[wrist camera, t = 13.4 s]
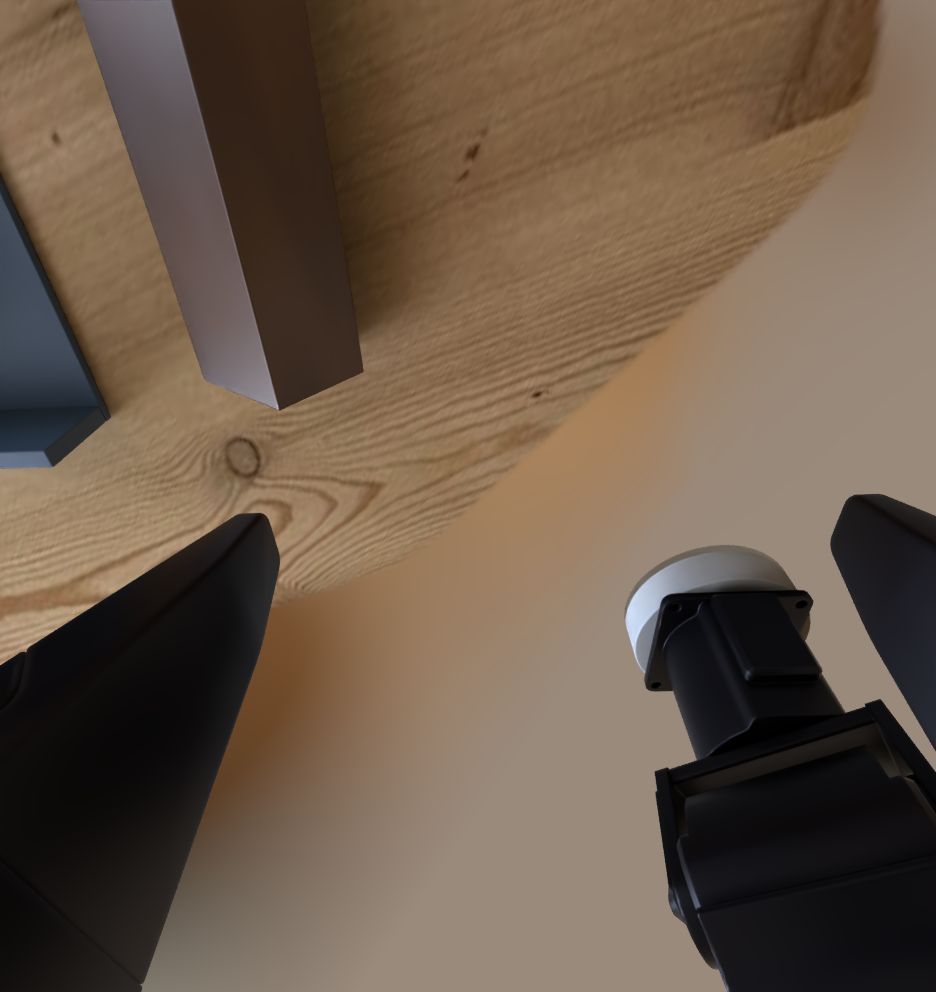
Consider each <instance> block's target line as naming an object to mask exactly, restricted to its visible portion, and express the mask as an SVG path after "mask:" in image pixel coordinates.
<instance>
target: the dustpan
mask: <svg viewBox="0 0 936 992" xmlns="http://www.w3.org/2000/svg"><path fill="white" fill-rule="evenodd" d="M110 418H111V416H110V414H109V412H108V410H107V408H106V406H105V403H104V401H103V399H102V397H101V395H100V392H99V390H98V388H97V386H96V384H95V382H94V379H93V377H92V375H91V373H90V371H89V368H88V366H87V364H86V362H85V360H84V357H83V355H82V353H81V351H80V349H79V347H78V344H77V342H76V340H75V338H74V336H73V333H72V331H71V329H70V327H69V325H68V323H67V320H66V318H65V316H64V314H63V312H62V309H61V307H60V305H59V303H58V301H57V299H56V296H55V294H54V292H53V290H52V288H51V285H50V283H49V281H48V279H47V277H46V275H45V272H44V270H43V268H42V266H41V264H40V261H39V259H38V257H37V255H36V253H35V250H34V248H33V246H32V244H31V242H30V240H29V237H28V235H27V233H26V231H25V229H24V226H23V224H22V222H21V220H20V218H19V216H18V213H17V211H16V209H15V207H14V205H13V202H12V200H11V198H10V196H9V194H8V192H7V189H6V187H5V185H4V183H3V181H2V178H1V176H0V469H9V468H38V467H54V466H55V465H56V464H57V463H59V462H60V461H61V460H62V459H63V458H64V457H66V456H67V455H68V454H69V453H70V452H71V451H72V450H74V449H75V448H76V447H77V446H78V445H79V444H81V443H82V442H83V441H84V440H85V439H86V438H87V437H89V436H90V435H91V434H92V433H93V432H94V431H95V430H97V429H98V428H99V427H100V426H101V425H102V424H104V423H105V421H107V420H109V419H110Z"/></svg>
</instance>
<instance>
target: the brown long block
mask: <svg viewBox="0 0 936 992" xmlns="http://www.w3.org/2000/svg"><path fill="white" fill-rule="evenodd" d="M77 3H78V6H79V9H80V12H81V14H82V17H83V20H84V23H85V26H86V29H87V32H88V35H89V38H90V41H91V44H92V47H93V50H94V53H95V56H96V59H97V62H98V65H99V68H100V71H101V74H102V77H103V80H104V83H105V86H106V89H107V92H108V95H109V98H110V101H111V104H112V107H113V110H114V113H115V116H116V118H117V121H118V124H119V127H120V130H121V133H122V136H123V139H124V142H125V145H126V148H127V151H128V154H129V157H130V160H131V163H132V166H133V169H134V172H135V175H136V178H137V181H138V184H139V187H140V190H141V193H142V196H143V199H144V202H145V205H146V208H147V211H148V214H149V217H150V220H151V222H152V225H153V228H154V231H155V234H156V237H157V240H158V243H159V246H160V249H161V252H162V255H163V258H164V261H165V264H166V267H167V270H168V273H169V276H170V279H171V282H172V285H173V288H174V291H175V294H176V297H177V300H178V303H179V306H180V309H181V312H182V315H183V318H184V321H185V324H186V326H187V329H188V332H189V335H190V338H191V341H192V344H193V347H194V350H195V353H196V356H197V359H198V362H199V365H200V368H201V371H202V374H203V377H204V380H205V381H207V382H210V383H212V384H215V385H217V386H220V387H222V388H225V389H227V390H230V391H232V392H235V393H237V394H240V395H242V396H245V397H247V398H250V399H252V400H255V401H257V402H260V403H262V404H265V405H267V406H270V407H272V408H275V409H277V410H282V409H284V408H286V407H288V406H290V405H293V404H295V403H297V402H299V401H301V400H304V399H306V398H308V397H310V396H312V395H314V394H317V393H319V392H321V391H323V390H325V389H328V388H330V387H332V386H334V385H336V384H338V383H341V382H343V381H345V380H347V379H349V378H351V377H354V376H356V375H358V374H360V373H362V372H363V371H364V370H363V364H362V358H361V351H360V345H359V339H358V333H357V326H356V320H355V314H354V307H353V301H352V295H351V289H350V282H349V276H348V270H347V264H346V257H345V251H344V245H343V239H342V232H341V226H340V220H339V214H338V207H337V201H336V195H335V189H334V182H333V176H332V170H331V163H330V157H329V151H328V145H327V138H326V132H325V126H324V120H323V113H322V107H321V101H320V95H319V88H318V82H317V76H316V70H315V63H314V57H313V51H312V45H311V38H310V32H309V26H308V19H307V13H306V7H305V1H304V0H77Z"/></svg>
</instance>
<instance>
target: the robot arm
mask: <svg viewBox="0 0 936 992" xmlns="http://www.w3.org/2000/svg"><path fill="white" fill-rule="evenodd" d="M830 544H831V551H832V554H833V557H834V559H835V561H836V564H837V566H838V568H839V570H840V572H841V575H842V577H843V579H844V582H845V584H846V586H847V588H848V591H849V593H850V595H851V597H852V600H853V602H854V604H855V606H856V609H857V611H858V613H859V615H860V618H861V620H862V622H863V624H864V626H865V629H866V631H867V633H868V635H869V637H870V639H871V641H872V642H873V644H874V646H875V648H876V650H877V652H878V653H879V655H880V657H881V658H882V660H883V662H884V664H885V665H886V667H887V669H888V670H889V672H890V674H891V676H892V677H893V679H894V681H895V682H896V684H897V686H898V687H899V689H900V691H901V693H902V694H903V696H904V698H905V700H906V701H907V703H908V705H909V707H910V708H911V710H912V712H913V713H914V715H915V717H916V719H917V720H918V722H919V724H920V725H921V727H922V729H923V731H924V732H925V734H926V736H927V737H928V739H929V741H930V743H931V744H932V746H933V748H934V749H935V751H936V516H935V515H932V514H930V513H927V512H925V511H922V510H920V509H917V508H915V507H912V506H910V505H908V504H905V503H903V502H900V501H898V500H895V499H893V498H890V497H888V496H885V495H881V494H865V495H853V496H851V497H850V498H848V499H847V501H846V502H845V504H844V507H843V509H842V511H841V514H840V516H839V519H838V521H837V524H836V526H835V529H834V531H833V534H832V537H831V543H830ZM279 567H280V556H279V551H278V548H277V545H276V541H275V538H274V535H273V532H272V528H271V525H270V522H269V520H268V518H267V516H266V515H264V514H262V513H245V514H238V515H236V516H234V517H233V518H231V519H229V520H228V521H226V522H225V523H223V524H222V525H220V526H218V527H217V528H215V529H214V530H212V531H211V532H209V533H207V534H206V535H204V536H203V537H201V538H200V539H198V540H196V541H195V542H193V543H192V544H190V545H189V546H187V547H185V548H184V549H182V550H181V551H179V552H178V553H176V554H174V555H173V556H171V557H170V558H168V559H167V560H165V561H163V562H162V563H160V564H159V565H157V566H156V567H154V568H152V569H151V570H149V571H148V572H146V573H145V574H143V575H142V576H140V577H138V578H137V579H135V580H134V581H132V582H131V583H129V584H127V585H126V586H124V587H123V588H121V589H120V590H118V591H116V592H115V593H113V594H112V595H110V596H109V597H107V598H105V599H104V600H102V601H101V602H99V603H98V604H96V605H94V606H93V607H91V608H90V609H88V610H87V611H85V612H83V613H82V614H80V615H79V616H77V617H76V618H74V619H72V620H71V621H69V622H68V623H66V624H65V625H63V626H61V627H60V628H58V629H57V630H55V631H54V632H52V633H50V634H49V635H47V636H46V637H44V638H43V639H41V640H39V641H38V642H36V643H35V644H33V645H32V646H30V647H29V648H28V649H27V652H20V653H19V654H17V655H16V656H14V657H13V658H11V659H9V660H8V661H6V662H5V663H3V664H2V665H0V992H141V991H142V986H141V985H140V984H142V983H143V982H144V980H145V978H146V975H147V972H148V969H149V967H150V964H151V961H152V958H153V955H154V952H155V950H156V947H157V944H158V941H159V938H160V935H161V933H162V930H163V927H164V924H165V921H166V918H167V916H168V913H169V910H170V907H171V904H172V901H173V898H174V895H175V893H176V890H177V887H178V884H179V881H180V879H181V876H182V873H183V870H184V867H185V864H186V862H187V858H188V856H189V853H190V850H191V847H192V844H193V842H194V839H195V836H196V833H197V830H198V827H199V825H200V821H201V819H202V816H203V813H204V810H205V807H206V805H207V802H208V799H209V796H210V793H211V791H212V788H213V785H214V782H215V779H216V776H217V774H218V771H219V768H220V765H221V762H222V759H223V756H224V754H225V751H226V748H227V745H228V742H229V739H230V737H231V734H232V731H233V728H234V725H235V722H236V719H237V717H238V714H239V711H240V708H241V705H242V702H243V700H244V697H245V694H246V691H247V688H248V685H249V683H250V680H251V677H252V674H253V671H254V668H255V665H256V662H257V659H258V656H259V653H260V650H261V646H262V642H263V639H264V634H265V630H266V625H267V621H268V616H269V612H270V607H271V603H272V598H273V594H274V590H275V585H276V581H277V576H278V572H279ZM673 604H675V605H673ZM812 605H813V600H812V598H811V596H810V595H809V594H808V592H807V591H805V590H776V591H740V592H703V593H673V594H669V595H666V596H665V597H664V598H663V599H662V601H661V604H660V608H659V613H658V618H657V622H656V627H655V631H654V636H653V640H652V645H651V649H650V654H649V658H648V663H647V668H646V672H645V677H644V682H645V685H646V688H647V689H648V690H650V691H673V692H674V695H675V698H676V701H677V703H678V707H679V709H680V712H681V715H682V718H683V721H684V724H685V727H686V730H687V732H688V735H689V739H690V741H691V744H692V747H693V750H694V753H695V756H696V759H697V761H694V762H691V763H688V764H684V765H681V766H678V767H675V768H672V769H669V768H664V769H661V770H658V771H655V778H656V785H657V791H656V801H657V807H658V815H659V821H660V829H661V835H662V842H663V849H664V856H665V863H666V870H667V878H668V884H669V889H668V890H669V891H668V897H669V903H670V907H671V909H672V912H673V914H674V915H675V916H676V917H677V918H678V919H680V920H681V921H682V922H684V923H685V924H686V926H687V928H688V930H689V932H690V935H691V937H692V939H693V941H694V943H695V945H696V947H697V949H698V951H699V953H700V954H701V955H702V957H703V959H704V960H705V961H706V963H707V964H708V965H709V966H710V967H711V968H713V969H716V970H717V969H719V971H720V974H721V976H722V979H723V981H724V984H725V986H726V989H727V992H936V772H935V771H934V769H933V768H932V767H931V765H930V764H929V763H928V761H927V760H926V759H925V757H924V756H923V755H922V753H921V752H920V751H919V749H918V748H917V747H916V745H915V744H914V743H913V741H912V740H911V739H910V737H909V736H908V735H907V733H906V732H905V731H904V729H903V728H902V727H901V726H900V724H899V723H898V722H897V720H896V719H895V718H894V716H893V715H892V714H891V712H890V711H889V710H888V708H887V707H886V706H885V704H884V703H883V702H882V700H881V699H878V700H876V701H872V702H869V703H866V704H865V706H866V707H863V708H860V709H856V710H853V711H850V712H847V713H846V712H845V710H844V709H843V707H842V706H841V704H840V702H839V701H838V699H837V698H836V696H835V694H834V693H833V691H832V689H831V688H830V686H829V685H828V683H827V681H826V680H825V678H824V676H823V675H822V668H821V666H820V665H819V663H818V661H817V660H816V658H815V656H814V655H813V653H812V652H811V650H810V649H809V647H808V645H807V644H806V642H805V640H804V639H803V637H802V636H801V634H800V632H801V630H802V628H803V625H804V623H805V621H806V619H807V616H808V614H809V612H810V610H811V607H812Z"/></svg>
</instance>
